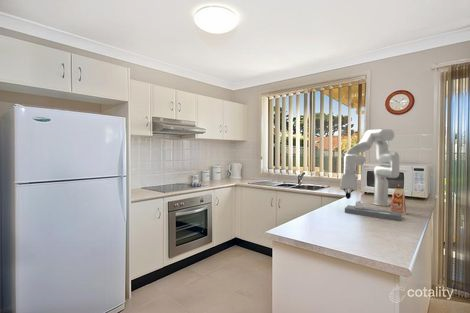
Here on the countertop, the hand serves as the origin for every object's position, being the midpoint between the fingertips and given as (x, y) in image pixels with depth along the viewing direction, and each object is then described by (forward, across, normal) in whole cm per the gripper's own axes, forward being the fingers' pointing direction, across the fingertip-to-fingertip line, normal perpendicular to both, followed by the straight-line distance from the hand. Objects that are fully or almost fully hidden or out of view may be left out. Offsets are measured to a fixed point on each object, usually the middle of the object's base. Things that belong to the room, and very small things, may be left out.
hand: (348, 198), depth 176 cm
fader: (+5, -7, -1) cm, 9 cm away
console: (+9, -15, -1) cm, 18 cm away
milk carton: (+9, -29, -20) cm, 36 cm away
